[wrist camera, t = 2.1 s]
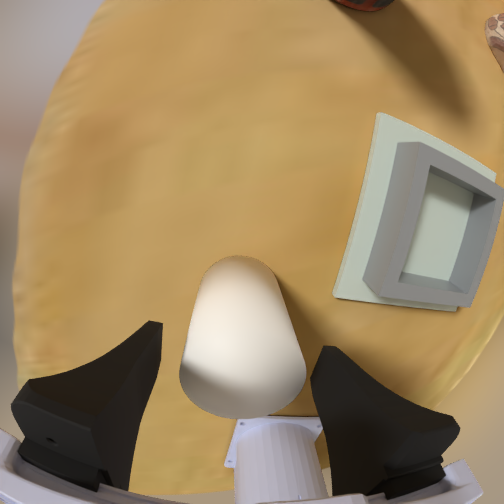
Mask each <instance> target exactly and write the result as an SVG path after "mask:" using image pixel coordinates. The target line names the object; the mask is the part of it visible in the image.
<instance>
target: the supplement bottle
mask: <svg viewBox="0 0 504 504" xmlns="http://www.w3.org/2000/svg"><path fill="white" fill-rule="evenodd" d="M336 1H337V2H339V3H341V4H343V5H345V6H348V7H350V8H354V9H358V10H363V11H376V10H380V9H383V8H385V7H386V6H387V5H389V4H390V3H392V2H393V1H394V0H336Z"/></svg>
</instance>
